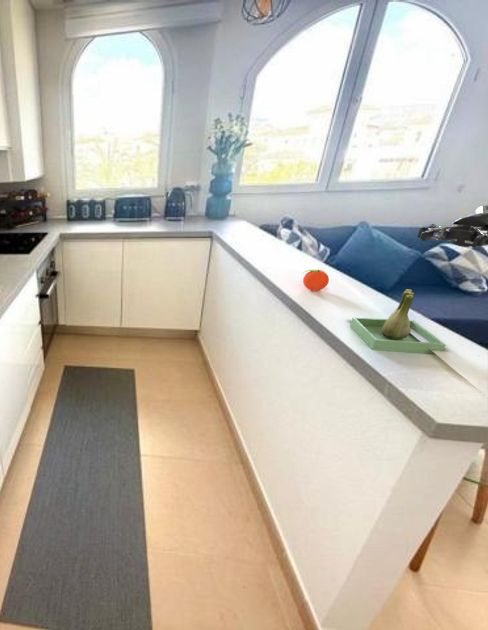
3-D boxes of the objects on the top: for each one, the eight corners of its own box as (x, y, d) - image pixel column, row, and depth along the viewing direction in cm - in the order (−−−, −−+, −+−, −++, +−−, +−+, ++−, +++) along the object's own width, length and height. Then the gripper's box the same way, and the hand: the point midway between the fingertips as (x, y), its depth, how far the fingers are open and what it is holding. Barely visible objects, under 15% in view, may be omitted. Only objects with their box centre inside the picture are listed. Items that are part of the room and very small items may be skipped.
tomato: (295, 291, 114) (300, 270, 111) (298, 284, 119) (303, 264, 116) (325, 295, 110) (330, 274, 107) (326, 288, 115) (332, 268, 112)
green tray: (410, 329, 88) (413, 320, 87) (441, 354, 78) (446, 344, 77) (349, 325, 92) (352, 317, 91) (371, 349, 82) (375, 340, 80)
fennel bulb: (388, 329, 88) (405, 286, 83) (412, 338, 84) (431, 292, 79) (374, 335, 86) (391, 291, 81) (398, 344, 82) (417, 298, 77)
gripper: (442, 210, 90) (414, 219, 84) (526, 216, 79) (502, 227, 72) (431, 239, 94) (404, 249, 87) (511, 248, 82) (486, 262, 75)
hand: (448, 239), depth 80 cm, fingers open, 8 cm apart
